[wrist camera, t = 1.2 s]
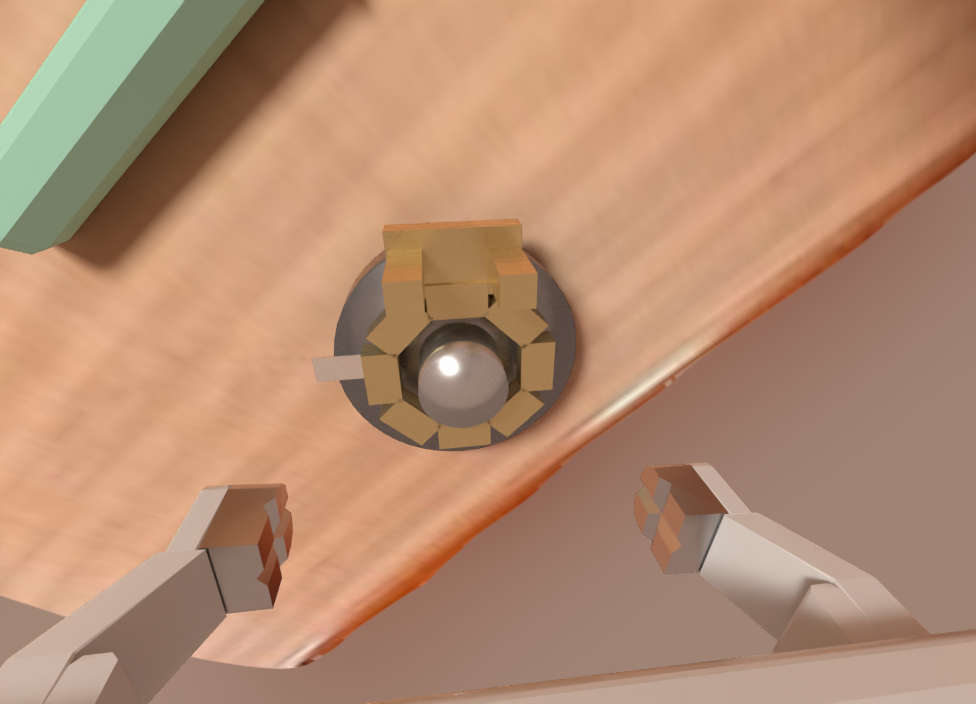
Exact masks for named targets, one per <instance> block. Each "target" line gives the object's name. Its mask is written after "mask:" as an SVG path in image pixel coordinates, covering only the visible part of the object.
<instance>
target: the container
mask: <svg viewBox="0 0 976 704" xmlns="http://www.w3.org/2000/svg"><path fill="white" fill-rule="evenodd" d="M264 1H265V0H87V1H86V2H85V4H84V5H83V7H82V8H81V10H80V11H79V13H78V14H77V15H76V17H75V18H74V20H73V21H72V23H71V24H70V26H69V27H68V28H67V30H66V31H65V33H64V34H63V36H62V37H61V38H60V40H59V41H58V43H57V44H56V46H55V47H54V49H53V50H52V51H51V53H50V54H49V56H48V57H47V59H46V60H45V61H44V63H43V64H42V66H41V67H40V69H39V70H38V72H37V73H36V74H35V76H34V77H33V79H32V80H31V82H30V83H29V84H28V86H27V87H26V89H25V90H24V92H23V93H22V95H21V96H20V97H19V99H18V100H17V102H16V103H15V105H14V106H13V107H12V109H11V110H10V112H9V113H8V115H7V116H6V118H5V119H4V120H3V122H2V123H1V125H0V247H1V248H6V249H10V250H14V251H19V252H23V253H28V254H35V253H37V252H40V251H43V250H46V249H49V248H51V247H53V246H56V245H58V244H61V243H63V242H66V241H68V240H70V239H71V237H72V236H73V235H74V234H75V232H76V231H77V230H78V229H79V227H80V226H81V225H82V224H83V223H84V221H85V220H86V219H87V218H88V216H89V215H90V214H91V213H92V212H93V210H94V209H95V208H96V207H97V205H98V204H99V203H100V202H101V201H102V199H103V198H104V197H105V196H106V194H107V193H108V192H109V191H110V190H111V188H112V187H113V186H114V185H115V183H116V182H117V181H118V180H119V178H120V177H121V176H122V175H123V174H124V172H125V171H126V170H127V169H128V167H129V166H130V165H131V164H132V163H133V161H134V160H135V159H136V158H137V156H138V155H139V154H140V153H141V152H142V150H143V149H144V148H145V147H146V145H147V144H148V143H149V142H150V141H151V139H152V138H153V137H154V136H155V134H156V133H157V132H158V131H159V129H160V128H161V127H162V126H163V125H164V123H165V122H166V121H167V120H168V118H169V117H170V116H171V115H172V114H173V112H174V111H175V110H176V109H177V107H178V106H179V105H180V104H181V103H182V101H183V100H184V99H185V98H186V96H187V95H188V94H189V93H190V92H191V90H192V89H193V88H194V87H195V85H196V84H197V83H198V82H199V80H200V79H201V78H202V77H203V76H204V74H205V73H206V72H207V71H208V69H209V68H210V67H211V66H212V65H213V63H214V62H215V61H216V60H217V58H218V57H219V56H220V55H221V54H222V52H223V51H224V50H225V49H226V47H227V46H228V45H229V44H230V43H231V41H232V40H233V39H234V38H235V36H236V35H237V34H238V33H239V31H240V30H241V29H242V28H243V27H244V25H245V24H246V23H247V22H248V20H249V19H250V18H251V17H252V16H253V14H254V13H255V12H256V11H257V9H258V8H259V7H260V6H261V5H262V3H263V2H264Z"/></svg>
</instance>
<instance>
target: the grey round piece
mask: <svg viewBox="0 0 976 704" xmlns="http://www.w3.org/2000/svg"><path fill="white" fill-rule="evenodd" d="M522 250H523V252H524V253H525V255H526V256H527V258H528V259H529V261H530V262H531V264H532V265H533V267H534V268H535V270H536V271H537V273H538V280H537V306H536V309H537V310H538V311H539V312H540V313H541V314H543V316H544V318H545V320H546V321H547V323H548V325H549V326H548V327H547V328H546V329H544V330H543V331H550V333H551V335H552V337H553V338H554V340H555V357H554V373H553V389H552V390H540V391H539V392H540V395H541V397H542V400H543V402H544V405H543V406H542V407H541V408H540V409H539V410H538V411H537V412H536V413H534V414H533V415H532V416H531V417H530V418H529V419H528V420H526V421H525V422H524V423H523V424H522V425H521V426H520V427H519V428H517V429H516V430H515V431H514V432H513V433H512V434H511V435H510V436H508V437H506V436H505V435H503V434H502V433H501V432H499V431H498V430H496V429H495V428H493V427H492V426H490V432H491V444H490V445H493V444H496V443H499V442H501V441H504V440H506V439H508V438H510V437H512V436H514V435H517V434H518V433H520V432H521V431H523V430H525V429H526V428H528V427H529V426H531V425H532V424H533V423H534V422H536V421H537V420H538V419H539V418H540V417H541V416H543V415H544V414H545V413H546V412H547V411H548V410H549V408H550V407H551V406H552V405H553V404H554V402H555V401H556V400H557V398H558V397H559V395H560V394H561V392H562V390H563V389H564V387H565V385H566V383H567V381H568V378H569V376H570V373H571V370H572V367H573V364H574V358H575V352H576V331H575V323H574V319H573V316H572V312H571V309H570V307H569V305H568V302H567V300H566V298H565V296H564V294H563V293H562V291H561V290H560V288H559V287H558V285H557V284H556V282H555V281H554V280H553V278H552V277H551V276H550V274H549V273H548V271H547V270H546V269H545V268H544V267H543V265H542V264H541V263H540V262H539V261H538V260H537V259H536V258H535V257H534V256H533V255H531V254H530V253H529V252H528V251H527V250H525V249H524V248H522ZM385 265H386V255H385V251H383V252H382V253H381V254H379V255H378V256H377V257H375V258H374V259H373V260H372V261H371V262H370V263H369V264H368V265H367V266H366V267H365V269H364V270H363V271H362V273H361V274H360V275H359V277H358V278H357V279H356V281H355V282H354V284H353V286H352V288H351V290H350V292H349V294H348V296H347V299H346V302H345V304H344V307H343V310H342V312H341V315H340V318H339V321H338V324H337V328H336V334H335V339H334V356H329V357H316V358H312V362H313V367H314V371H315V375H316V379H317V382H324V381H336V380H340V383H341V385H342V387H343V389H344V392H345V394H346V395H347V397H348V398H349V400H350V402H351V403H352V405H353V406H354V407H355V408H356V410H357V411H358V412H359V413H360V414H361V415H362V416H363V417H364V418H365V419H366V420H367V421H368V422H369V423H370V424H372V425H373V426H374V427H376V428H377V429H379V430H380V431H381V432H383V433H385V434H386V435H388V436H390V437H392V438H394V439H396V440H398V441H401V442H404V443H406V444H409V445H412V446H416V447H420V448H424V449H430V450H437V451H465V450H471V449H478V448H482V447H486V446H490V445H479V446H469V447H459V448H449V449H439V438H438V431H437V432H436V433H435V434H433V435H432V436H431V437H430V438H429V439H428V440H427V441H426V442H425V443H424V444H423V445H420V444H418V443H417V442H415V441H413V440H412V439H410V438H409V437H407V436H405V435H404V434H402V433H401V432H399V431H397V430H396V429H394V428H392V427H391V426H389V425H388V424H386V423H384V422H383V421H381V420H379V418H380V410H381V405H382V404H378V405H369V402H368V397H367V391H366V386H365V380H364V374H363V369H362V363H361V357H360V356H361V352H362V348H363V344H372V343H371V342H370V341H369V340H367V339H366V335H367V331H368V327H369V326H370V325H371V323H372V322H373V321H374V320H375V319H376V318H377V317H378V316H379V315H380V313H381V312H382V311H383V310H384V309H385V304H384V297H383V290H382V278H383V274H384V269H385ZM488 295H489V294H488ZM425 301H426V298H425ZM399 355H400V362H401V370H402V378H403V386H404V387H406V388H407V389H409V390H410V391H412V392H413V393H415V394H416V395H418V396H419V401H420V404H421V406H422V408H423V410H424V411H425V413H426V414H427V415H428V416H429V417H430V418H432V419H433V420H434V421H436V422H438V423H440V424H442V425H445V426H448V427H453V428H468V427H474V426H477V425H480V424H483V423H485V422H487V421H488V420H490V419H491V418H493V417H494V416H495V415H496V414H497V413H498V412H499V411H500V410H501V409H502V407H503V406H504V404H505V402H506V399H507V396H508V390H509V387H508V384H509V383H510V382H511V381H512V380H513V379H515V378H516V368H517V343H516V342H515V341H514V340H512V339H511V338H510V337H509V336H508V335H506V334H505V333H504V332H503V331H502V330H500V329H499V328H498V327H497V326H496V325H494V324H493V323H492V322H491V321H490V320H488V319H487V318H486V317H476V318H461V319H447V320H432V321H430V322H429V324H428V325H427V326H426V327H425V328H424V329H423V330H422V331H421V332H420V333H419V334H418V335H417V336H416V337H415V338H414V339H413V340H412V341H411V342H410V344H409V345H408V346H407V347H406V348H405V349H404V350H403V351H402V352H401V353H400V354H399Z"/></svg>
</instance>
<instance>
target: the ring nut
mask: <svg viewBox="0 0 976 704" xmlns="http://www.w3.org/2000/svg"><path fill="white" fill-rule="evenodd" d="M383 239H384V247H385V255H386V265H385V269H384V274H383V278H382V290H383V297H384V304H385V309H384V310H383V311H382V312H381V313H380V315H379V316H378V317H377V318H376V319H375V320H374V321H373V322H372V323H371V325H370V326H369V327H368V331H367V335H366V339H367V340H369V341H370V342H371V343H372V344H363V348H362V352H361V356H360V357H361V363H362V369H363V374H364V380H365V386H366V391H367V397H368V402H369V405H378V404H382V405H381V410H380V418H379V420H381V421H383V422H384V423H386V424H388V425H389V426H391V427H392V428H394V429H396V430H397V431H399V432H401V433H402V434H404V435H405V436H407V437H409V438H410V439H412V440H413V441H415V442H417V443H418V444H420V445H423V444H424V443H425V442H426V441H427V440H428V439H429V438H430V437H431V436H432V435H433V434H435V433H436V432H437V431H438V438H439V449H449V448H459V447H469V446H479V445H490V444H491V432H490V426H492V427H493V428H495V429H496V430H498V431H499V432H501V433H502V434H503V435H505V436H506V437H508V436H510V435H511V434H512V433H513V432H514V431H515V430H516V429H517V428H519V427H520V426H521V425H522V424H523V423H524V422H525V421H526V420H528V419H529V418H530V417H531V416H532V415H533V414H534V413H536V412H537V411H538V410H539V409H540V408H541V407H542V406H543V405H544V402H543V400H542V397H541V395H540V392H539V391H540V390H552V389H553V373H554V357H555V340H554V338H553V337H552V335H551V333H550V331H543V330H544V329H546V328H547V327H548V326H549V325H548V323H547V321H546V320H545V318H544V316H543V314H541V313H540V312H539V311H538V310H537V309H536V306H537V280H538V273H537V271H536V270H535V268H534V267H533V265H532V264H531V262H530V261H529V259H528V258H527V256H526V255H525V253H524V252H523V250H522V224H521V223H520V222H519V220H518V219H504V220H483V221H462V222H440V223H419V224H398V225H384V228H383ZM488 294H489V295H488ZM425 298H426V301H425ZM476 317H486V318H487V319H488V320H490V321H491V322H492V323H493V324H494V325H496V326H497V327H498V328H499V329H500V330H502V331H503V332H504V333H505V334H506V335H508V336H509V337H510V338H511V339H512V340H514V341H515V342H516V343H517V368H516V378H515V379H513V380H512V381H511V382H510V383H509V384H508V387H509V390H508V396H507V399H506V402H505V404H504V406H503V407H502V409H501V410H500V411H499V412H498V413H497V414H496V415H495V416H494V417H493V418H491V419H490V420H488V421H487V422H485V423H483V424H480V425H477V426H474V427H468V428H453V427H448V426H445V425H442V424H440V423H438V422H436V421H434V420H433V419H432V418H430V417H429V416H428V415H427V414H426V413H425V411H424V410H423V408H422V406H421V404H420V401H419V396H418V395H416V394H415V393H413V392H412V391H410V390H409V389H407V388H406V387H404V386H403V378H402V370H401V362H400V355H399V354H400V353H401V352H402V351H403V350H404V349H405V348H406V347H407V346H408V345H409V344H410V342H411V341H412V340H413V339H414V338H415V337H416V336H417V335H418V334H419V333H420V332H421V331H422V330H423V329H424V328H425V327H426V326H427V325H428V324H429V322H430V321H432V320H447V319H461V318H476Z"/></svg>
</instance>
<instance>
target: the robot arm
mask: <svg viewBox="0 0 976 704" xmlns="http://www.w3.org/2000/svg"><path fill="white" fill-rule="evenodd" d="M640 479H641V481H642V482H643V484H644V486H643V487H642V488H641V489H640V490H639V491H638V492H637V493H636V497H635V501H634V514H635V518H636V521H637V524H638V526H639V528H640V530H641V532H642V533H643V534H644V535H645V536H647V537H648V538H650V539H651V540H652V545H651V550H652V552H653V554H654V556H655V558H656V560H657V561H658V563H659V565H660V567H661V569H662V571H663V573H664V574H676V573H694V572H700V575H701V576H702V577H703V578H705V579H706V580H707V581H708V582H709V583H710V584H711V585H713V586H714V587H715V588H716V589H717V590H719V591H720V592H721V593H722V594H723V595H725V596H726V597H727V598H728V599H729V600H730V601H731V602H733V603H734V604H735V605H736V606H737V607H739V608H740V609H741V610H742V611H743V612H744V613H746V614H747V615H748V616H749V617H750V618H751V619H753V620H754V621H755V622H756V623H757V624H758V625H760V626H761V627H762V628H763V629H764V630H766V631H767V632H768V633H769V634H770V635H771V636H773V637H774V638H775V639H776V640H777V641H778V642H777V644H776V646H775V648H774V649H773V651H772V652H771V654H764V655H757V656H748V657H739V658H731V659H723V660H715V661H706V662H699V663H691V664H682V665H674V666H666V667H658V668H649V669H641V670H633V671H624V672H616V673H609V674H600V675H591V676H583V677H576V678H567V679H559V680H551V681H542V682H534V683H526V684H518V685H510V686H501V687H493V688H485V689H477V690H468V691H461V692H452V693H444V694H436V695H427V696H420V697H412V698H403V699H395V700H386V701H378V702H370V703H362V704H976V629H970V630H962V631H954V632H945V633H938V634H930V633H929V632H928V631H927V630H926V629H925V628H924V627H923V626H922V625H921V624H920V623H919V622H918V621H917V620H916V619H915V618H914V617H913V616H912V615H911V614H910V613H909V612H908V611H907V610H906V609H905V608H904V607H903V606H902V605H901V604H900V603H899V602H898V601H897V600H896V599H895V598H894V597H893V596H892V595H891V594H890V593H889V592H888V591H887V590H886V589H885V587H884V586H883V585H882V584H881V583H880V582H878V581H877V579H876V578H875V577H873V576H871V575H869V574H867V573H865V572H864V571H862V570H860V569H858V568H857V567H855V566H853V565H851V564H850V563H847V562H846V561H844V560H842V559H840V558H839V557H837V556H835V555H833V554H832V553H830V552H828V551H826V550H824V549H823V548H821V547H819V546H817V545H815V544H814V543H812V542H810V541H808V540H806V539H804V538H803V537H801V536H799V535H798V534H796V533H794V532H792V531H790V530H788V529H787V528H785V527H783V526H781V525H780V524H778V523H776V522H774V521H772V520H770V519H769V518H767V517H765V516H763V515H762V514H760V513H758V512H752V513H751V511H750V510H749V509H748V508H747V507H746V505H745V504H744V503H743V502H742V501H741V500H740V498H739V497H738V496H737V495H736V494H735V492H734V491H733V490H732V489H731V488H730V487H729V485H728V484H727V483H726V482H725V481H724V480H723V478H722V477H721V476H720V475H719V474H718V472H717V471H716V470H715V469H714V468H713V467H712V466H711V465H710V464H708V463H706V462H702V463H688V464H673V465H655V466H646V467H645V469H644V470H643V472H642V475H641V478H640ZM287 499H288V494H287V490H286V485H284V484H243V485H227V486H206V487H205V488H204V489H202V490H201V491H200V492H199V494H198V496H197V498H196V499H195V501H194V503H193V505H192V506H191V508H190V510H189V511H188V513H187V515H186V517H185V518H184V520H183V522H182V524H181V525H180V527H179V529H178V531H177V532H176V534H175V536H174V537H173V539H172V541H171V543H170V544H169V546H168V548H167V550H166V551H165V552H158V553H155V554H154V555H153V556H151V557H150V558H148V559H147V560H146V561H144V562H143V563H141V564H140V565H139V566H137V567H136V568H134V569H133V570H132V571H130V572H129V573H127V574H126V575H125V576H123V577H122V578H120V579H119V580H118V581H116V582H115V583H114V584H112V585H111V586H109V587H108V588H107V589H105V590H104V591H102V592H101V593H100V594H98V595H97V596H95V597H94V598H93V599H91V600H90V601H88V602H87V603H86V604H84V605H83V606H81V607H80V608H79V609H77V610H76V611H74V612H73V613H72V614H70V615H69V616H67V617H66V618H65V619H63V620H62V621H60V622H59V623H58V624H56V625H55V626H53V627H52V628H51V629H49V630H48V631H46V632H45V633H44V634H42V635H41V636H39V637H38V638H37V639H35V640H34V641H32V642H31V643H30V644H28V645H27V646H26V647H24V648H23V649H21V650H20V651H18V652H17V653H16V654H14V655H13V656H11V657H10V658H9V659H7V660H6V662H5V663H4V664H3V665H2V667H1V668H0V704H148V703H149V702H150V701H151V700H152V699H153V697H154V696H155V695H156V694H157V693H158V692H159V691H160V690H161V689H162V688H163V686H164V685H165V684H166V683H167V682H168V681H169V680H170V679H171V678H172V676H173V675H174V674H175V673H176V672H177V671H178V670H179V669H180V667H181V666H182V665H183V664H184V663H185V662H186V661H187V660H188V659H189V658H190V656H191V655H192V654H193V653H194V652H195V651H196V650H197V649H198V648H199V647H200V645H201V644H202V643H203V642H204V641H205V640H206V639H207V638H208V637H209V635H210V634H211V633H212V632H213V631H214V630H215V629H216V628H217V627H218V625H219V624H220V623H221V622H222V621H223V620H224V619H225V618H226V614H229V613H238V612H246V611H255V610H264V609H273V607H274V603H275V600H276V597H277V593H278V590H279V586H280V583H281V580H282V575H281V570H280V565H281V564H282V563H283V562H284V561H286V560H287V559H288V555H289V552H290V548H291V542H292V534H293V524H292V516H291V512H290V511H288V510H287V509H286V508H285V505H286V502H287Z"/></svg>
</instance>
